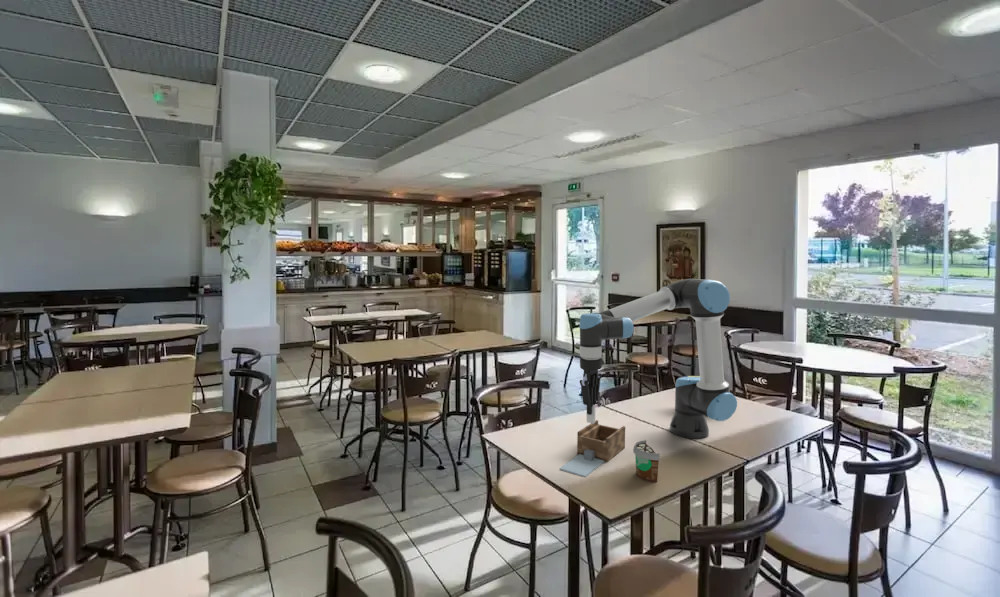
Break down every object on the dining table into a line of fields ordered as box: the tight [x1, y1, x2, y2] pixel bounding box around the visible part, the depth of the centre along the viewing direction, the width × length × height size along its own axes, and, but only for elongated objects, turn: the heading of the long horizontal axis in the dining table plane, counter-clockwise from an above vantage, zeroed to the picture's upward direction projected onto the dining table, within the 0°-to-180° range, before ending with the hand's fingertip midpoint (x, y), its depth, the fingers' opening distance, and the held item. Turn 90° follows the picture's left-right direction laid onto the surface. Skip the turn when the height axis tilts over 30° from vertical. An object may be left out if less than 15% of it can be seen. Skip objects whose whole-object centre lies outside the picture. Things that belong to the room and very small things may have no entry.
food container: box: [632, 439, 661, 483], centre depth 164 cm, size 12×6×10 cm, turn 5°
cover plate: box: [559, 449, 605, 478], centre depth 172 cm, size 15×10×4 cm, turn 144°
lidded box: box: [576, 419, 626, 463], centre depth 184 cm, size 16×12×8 cm
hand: (591, 422), depth 175 cm, fingers closed
